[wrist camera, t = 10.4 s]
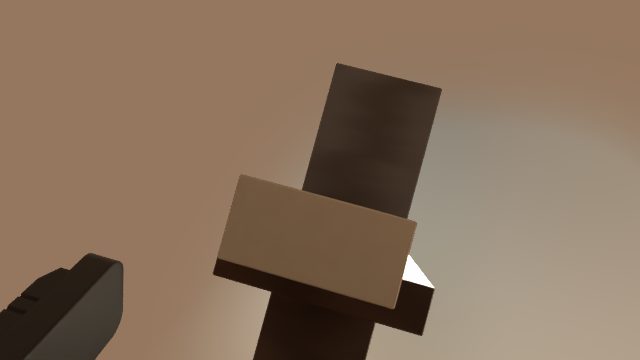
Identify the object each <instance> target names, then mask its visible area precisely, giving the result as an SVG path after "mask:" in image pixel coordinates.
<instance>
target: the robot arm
mask: <svg viewBox="0 0 640 360" xmlns="http://www.w3.org/2000/svg"><path fill="white" fill-rule="evenodd" d="M122 312H123V264H122V263H121V262H120V261H116V260H113V259H110V258H106V257H103V256H99V255H96V254H93V253H89V254H87V255H85V256H84V257H83V258H82V259H81V260H80V261H79V262H78V263H77V264H76V265H75V266H74V267H73V268H72V269H70V270H67V269H63V268H59V269H57V270H55V271H53V272H51V273H48V274H46V275H44V276H42V277H40V278H38V279H37V280H36V281H35V282H34V283H33V284H31V285H30V286H29V287H28V288H27V289H26V290H25V291H24V292H23V293H22V294H21V296H20V297H17V298H16V299H15V300H14V301H13V302H12V303H10V304H9V305H8V307H7V309H6V310H5V309H4V310H3V311H2V312H1V313H0V360H95V359H96V357H97V356H98V355H99V353H100V352H101V351H102V349H103V348H104V347H105V346H106V344H107V343H108V342H109V341H110V339H111V338H112V337H113V335H114V334H115V332H116V330H117V328H118V326H119V324H120V321H121V317H122Z"/></svg>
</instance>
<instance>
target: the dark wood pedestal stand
mask: <svg viewBox="0 0 640 360" xmlns="http://www.w3.org/2000/svg"><path fill="white" fill-rule="evenodd" d="M441 91H442V89H441V88H437V87H433V86H429V85H425V84H421V83H416V82H412V81H408V80H404V79H400V78H396V77H392V76H388V75H384V74H380V73H376V72H372V71H368V70H364V69H359V68H355V67H351V66H347V65H343V64H339V63H337V64H336V67H335V71H334V74H333V78H332V82H331V85H330V89H329V93H328V96H327V100H326V104H325V107H324V111H323V115H322V118H321V122H320V125H319V129H318V133H317V137H316V140H315V144H314V147H313V151H312V155H311V159H310V162H309V166H308V169H307V173H306V177H305V181H304V184H303V188H302V190H303V191H307V192H310V193H314V194H318V195H322V196H325V197H329V198H333V199H336V200H340V201H344V202H347V203H351V204H355V205H358V206H362V207H366V208H369V209H373V210H377V211H380V212H384V213H388V214H391V215H395V216H398V217H402V218H405V219H407V218H408V214H409V210H410V207H411V203H412V199H413V195H414V192H415V188H416V185H417V181H418V177H419V173H420V169H421V165H422V162H423V158H424V155H425V151H426V147H427V143H428V140H429V136H430V132H431V128H432V124H433V121H434V117H435V113H436V110H437V106H438V102H439V98H440V95H441ZM213 274H214V275H216V276H219V277H223V278H226V279H229V280H233V281H236V282H240V283H243V284H246V285H250V286H253V287H257V288H260V289H263V290H267V291H270V292H271V296H270V299H269V303H268V307H267V310H266V314H265V318H264V321H263V325H262V329H261V332H260V336H259V339H258V343H257V347H256V350H255V354H254V358H253V360H366V357H367V353H368V349H369V345H370V342H371V338H372V334H373V330H374V327H375V323H379V324H383V325H386V326H389V327H392V328H396V329H399V330H403V331H406V332H410V333H413V334H417V335H420V336H422V335H423V332H424V328H425V324H426V321H427V317H428V313H429V310H430V306H431V302H432V298H433V294H434V291H435V289H434V287H433V286H432V285H431V283H430V282H429V281H428V280H427V278H426V277H425V275H424V274H423V273H422V272H421V270H420V269H419V268H418V266H417V265H416V264H415V262H414V261H413V260H412V259H411V257H410V256H408V260H407V264H406V267H405V271H404V275H403V279H402V282H401V286H400V290H399V294H398V297H397V301H396V305H395V308H394V309H390V308H387V307H384V306H380V305H377V304H373V303H370V302H366V301H363V300H359V299H356V298H353V297H349V296H346V295H342V294H339V293H335V292H332V291H329V290H325V289H322V288H318V287H315V286H311V285H308V284H304V283H301V282H298V281H294V280H291V279H287V278H284V277H280V276H277V275H274V274H270V273H267V272H263V271H260V270H256V269H253V268H249V267H246V266H243V265H239V264H236V263H232V262H229V261H225V260H222V259H219V258H218V257H217V260H216V264H215V268H214V271H213Z"/></svg>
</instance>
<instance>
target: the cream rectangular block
mask: <svg viewBox="0 0 640 360" xmlns="http://www.w3.org/2000/svg"><path fill="white" fill-rule="evenodd" d="M416 226H417V223H416V222H415V221H412V220H408V219H405V218H402V217H398V216H395V215H391V214H388V213H384V212H380V211H377V210H373V209H369V208H366V207H362V206H358V205H355V204H351V203H347V202H344V201H340V200H336V199H333V198H329V197H325V196H322V195H318V194H314V193H310V192H307V191H303V190H299V189H295V188H292V187H288V186H284V185H280V184H276V183H273V182H269V181H265V180H261V179H258V178H254V177H250V176H246V175H242V174H241V175H240V176H239V180H238V184H237V187H236V191H235V195H234V198H233V202H232V205H231V209H230V213H229V216H228V220H227V224H226V227H225V231H224V235H223V238H222V242H221V245H220V249H219V252H218V258H219V259H222V260H225V261H229V262H232V263H236V264H239V265H243V266H246V267H249V268H253V269H256V270H260V271H263V272H267V273H270V274H274V275H277V276H280V277H284V278H287V279H291V280H294V281H298V282H301V283H304V284H308V285H311V286H315V287H318V288H322V289H325V290H329V291H332V292H335V293H339V294H342V295H346V296H349V297H353V298H356V299H359V300H363V301H366V302H370V303H373V304H377V305H380V306H384V307H387V308H390V309H394V308H395V305H396V301H397V297H398V294H399V290H400V286H401V282H402V279H403V275H404V271H405V267H406V264H407V260H408V256H409V252H410V249H411V245H412V241H413V237H414V234H415V230H416Z"/></svg>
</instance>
